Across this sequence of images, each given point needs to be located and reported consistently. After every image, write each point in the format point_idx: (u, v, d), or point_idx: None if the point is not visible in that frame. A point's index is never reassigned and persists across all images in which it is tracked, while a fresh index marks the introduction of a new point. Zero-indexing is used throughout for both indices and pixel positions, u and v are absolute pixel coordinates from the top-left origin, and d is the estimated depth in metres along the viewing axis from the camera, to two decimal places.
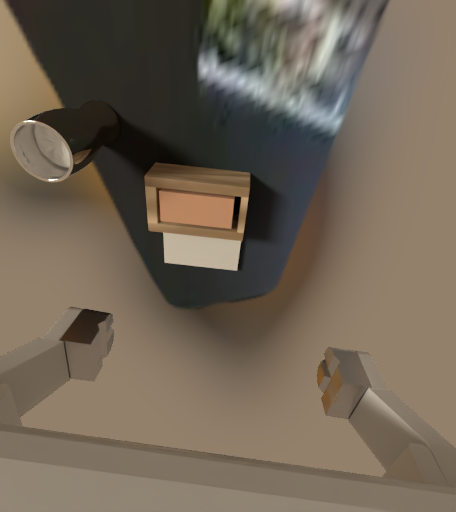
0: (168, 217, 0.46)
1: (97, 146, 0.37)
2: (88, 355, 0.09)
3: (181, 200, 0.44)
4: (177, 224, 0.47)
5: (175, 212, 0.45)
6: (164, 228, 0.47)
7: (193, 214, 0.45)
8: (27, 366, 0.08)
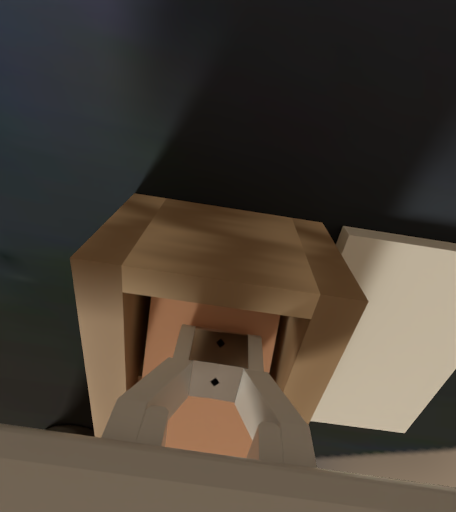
0: None
1: None
2: (213, 374, 0.10)
3: None
4: None
5: None
6: None
7: (214, 430, 0.12)
8: (169, 387, 0.08)
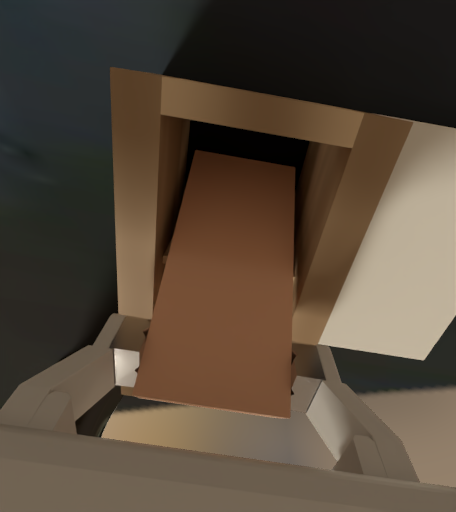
0: (267, 372, 0.10)
1: None
2: (136, 363, 0.09)
3: (187, 301, 0.11)
4: None
5: (244, 335, 0.10)
6: None
7: (249, 266, 0.12)
8: (81, 374, 0.08)
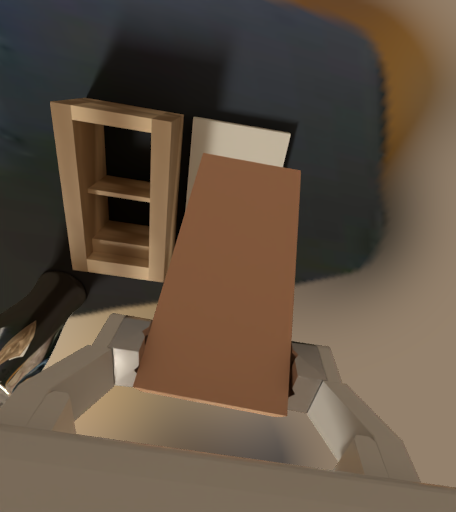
0: (266, 370, 0.10)
1: (18, 319, 0.29)
2: (135, 363, 0.09)
3: (190, 298, 0.11)
4: None
5: (244, 332, 0.11)
6: (156, 259, 0.29)
7: (251, 266, 0.12)
8: (80, 374, 0.08)
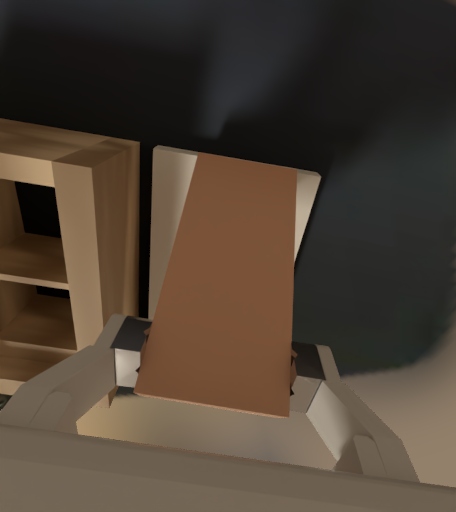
0: (267, 372, 0.10)
1: None
2: (137, 363, 0.09)
3: (189, 301, 0.11)
4: None
5: (244, 334, 0.11)
6: None
7: (250, 267, 0.12)
8: (82, 374, 0.08)
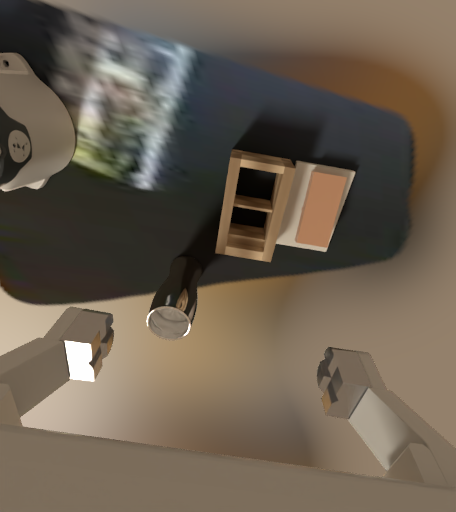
0: (324, 239, 0.47)
1: (182, 282, 0.47)
2: (88, 356, 0.09)
3: (308, 223, 0.46)
4: (267, 234, 0.46)
5: (320, 231, 0.47)
6: (269, 247, 0.46)
7: (324, 214, 0.46)
8: (27, 366, 0.08)
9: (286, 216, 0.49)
